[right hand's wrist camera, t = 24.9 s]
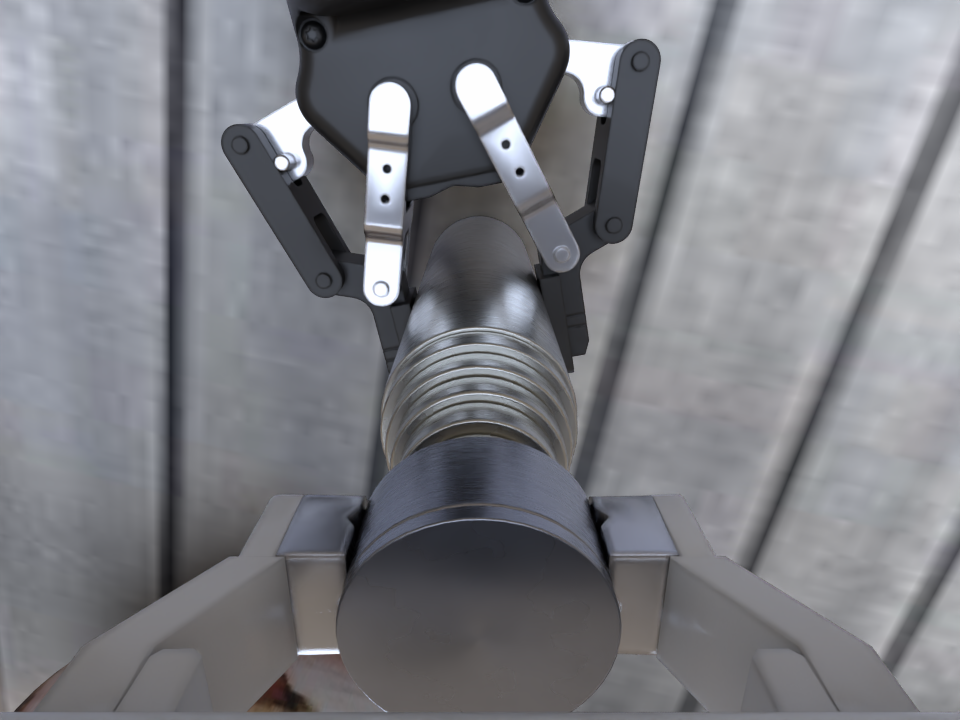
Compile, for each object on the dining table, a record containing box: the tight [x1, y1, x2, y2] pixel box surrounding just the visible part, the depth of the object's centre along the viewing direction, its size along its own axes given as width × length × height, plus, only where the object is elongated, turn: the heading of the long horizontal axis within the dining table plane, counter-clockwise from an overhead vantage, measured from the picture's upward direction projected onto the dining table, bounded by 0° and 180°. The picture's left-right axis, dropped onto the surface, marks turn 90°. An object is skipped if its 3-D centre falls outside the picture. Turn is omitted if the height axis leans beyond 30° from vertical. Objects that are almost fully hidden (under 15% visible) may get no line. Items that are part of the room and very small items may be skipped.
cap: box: [336, 436, 622, 712], centre depth 9 cm, size 4×4×2 cm
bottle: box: [380, 216, 578, 472], centre depth 19 cm, size 4×4×21 cm
